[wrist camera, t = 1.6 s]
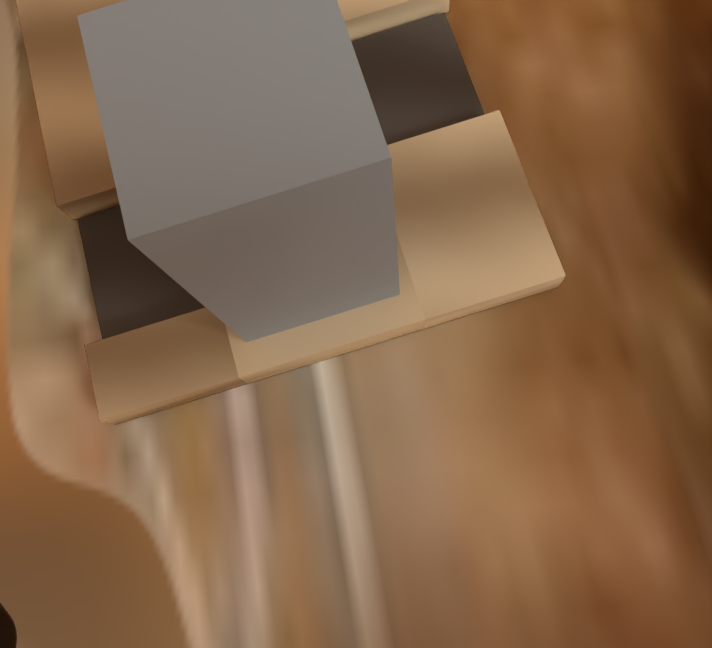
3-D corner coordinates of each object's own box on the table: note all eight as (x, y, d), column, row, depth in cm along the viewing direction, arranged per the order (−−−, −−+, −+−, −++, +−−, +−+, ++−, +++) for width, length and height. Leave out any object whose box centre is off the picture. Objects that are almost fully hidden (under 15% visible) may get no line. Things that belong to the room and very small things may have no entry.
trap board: (557, 287, 22) (581, 254, 19) (115, 424, 22) (67, 414, 19) (374, -178, 27) (369, -265, 24) (15, -64, 27) (-36, -136, 24)
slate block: (399, 294, 21) (391, 157, 12) (246, 342, 21) (127, 240, 12) (353, 155, 22) (315, -60, 13) (209, 200, 22) (76, 15, 13)
